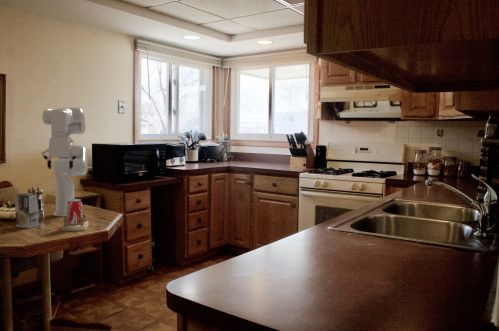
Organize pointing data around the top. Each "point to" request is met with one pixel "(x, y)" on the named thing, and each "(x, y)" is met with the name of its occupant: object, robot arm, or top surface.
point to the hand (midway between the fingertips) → (60, 168)
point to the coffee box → (27, 210)
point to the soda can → (74, 211)
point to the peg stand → (81, 226)
